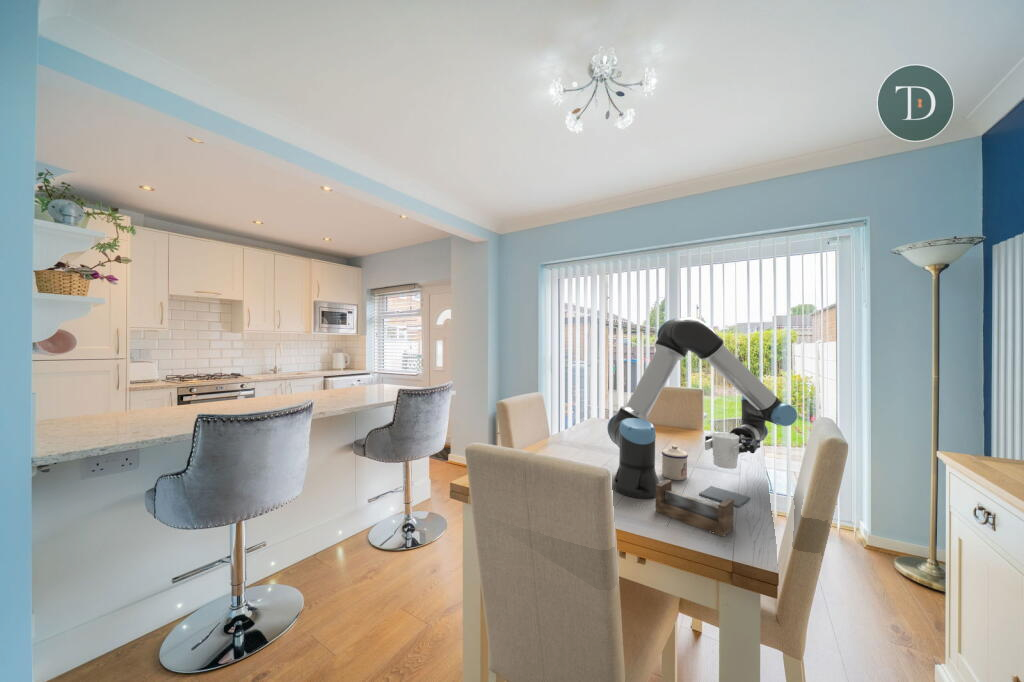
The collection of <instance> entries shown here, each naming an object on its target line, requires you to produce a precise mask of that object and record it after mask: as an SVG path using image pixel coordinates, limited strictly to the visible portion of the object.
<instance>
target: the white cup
mask: <svg viewBox="0 0 1024 682" xmlns="http://www.w3.org/2000/svg"><path fill="white" fill-rule="evenodd" d="M711 435H712V448H711V449H712V457H713V464H714V466H715V467H719V468H723V469H728V470H729V469H731V470H734V469H737V467H738V458H739V454H738V455H737V456H733V447H734V446H736V445H738V444H739V436H737V435H734V434H730V432H721V431H718V432H717V431H716V432H712V433H711Z"/></svg>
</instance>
